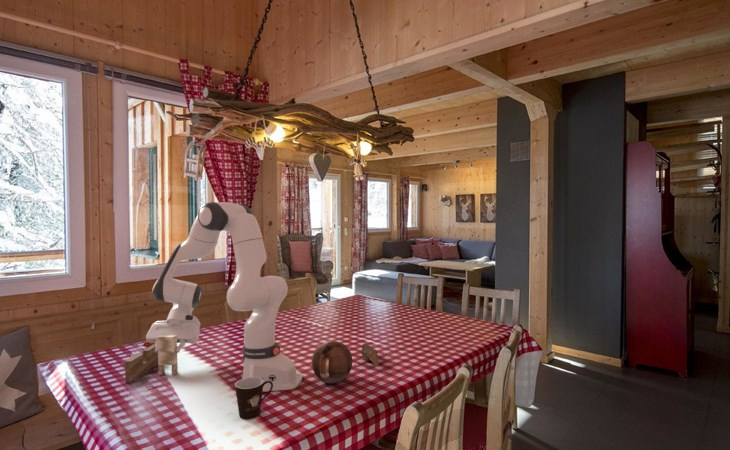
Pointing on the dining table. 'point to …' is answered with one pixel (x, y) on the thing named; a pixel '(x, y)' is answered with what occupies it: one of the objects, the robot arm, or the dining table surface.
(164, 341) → the ash slotted plate
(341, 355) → the wooden sphere
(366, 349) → the bird sculpture
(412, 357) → the dining table surface
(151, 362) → the walnut slotted plate
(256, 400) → the coffee mug
